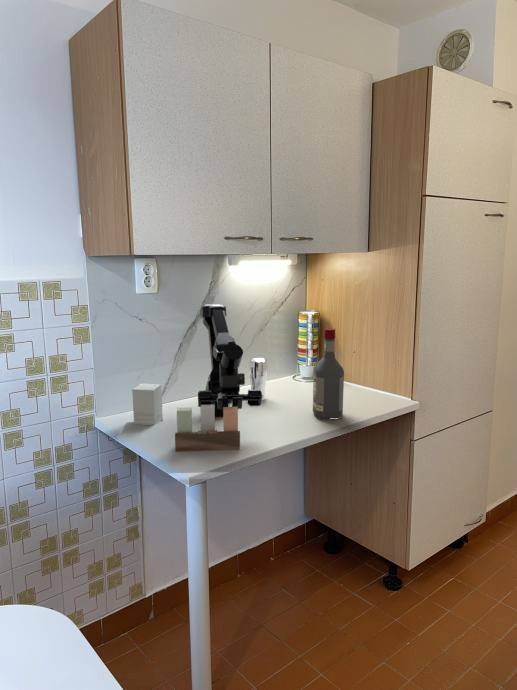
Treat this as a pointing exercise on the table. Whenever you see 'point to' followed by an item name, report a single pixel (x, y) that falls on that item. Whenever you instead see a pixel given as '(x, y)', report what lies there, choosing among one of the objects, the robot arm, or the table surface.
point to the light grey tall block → (207, 417)
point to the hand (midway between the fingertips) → (230, 424)
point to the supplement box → (147, 404)
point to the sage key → (184, 419)
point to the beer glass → (258, 374)
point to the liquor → (328, 382)
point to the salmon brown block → (230, 418)
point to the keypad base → (207, 440)
